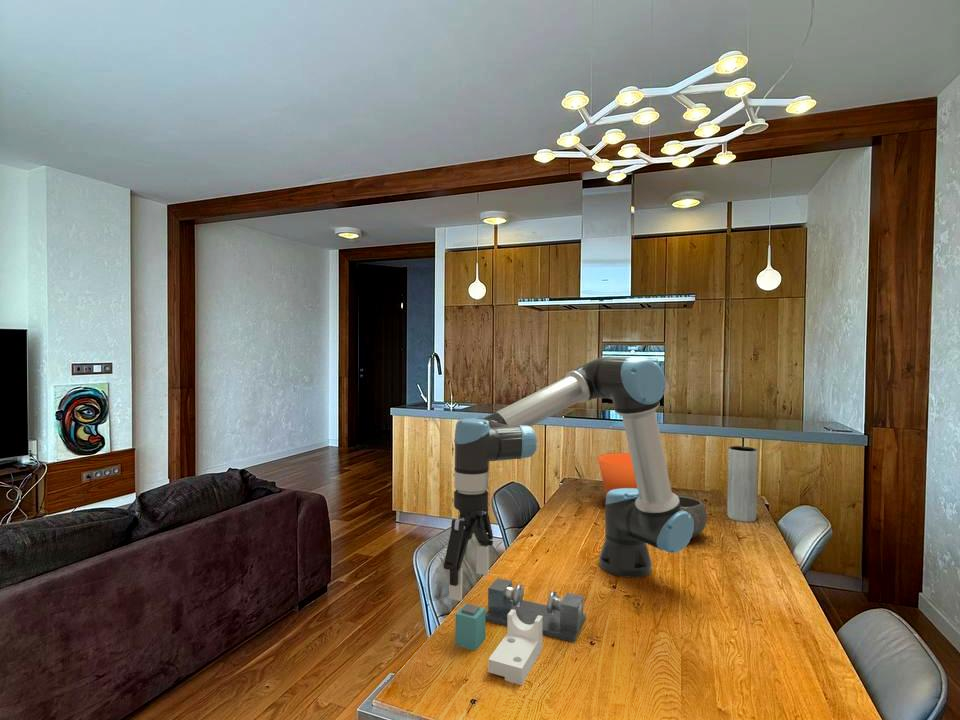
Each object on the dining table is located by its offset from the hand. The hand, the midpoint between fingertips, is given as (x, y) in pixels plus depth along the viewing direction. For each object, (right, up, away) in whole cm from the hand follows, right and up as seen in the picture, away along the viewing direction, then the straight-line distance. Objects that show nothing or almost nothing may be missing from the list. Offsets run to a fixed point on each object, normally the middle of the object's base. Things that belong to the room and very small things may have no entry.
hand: (469, 585), depth 113 cm
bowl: (+72, -12, +66) cm, 98 cm away
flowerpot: (+64, -11, +99) cm, 118 cm away
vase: (+104, -12, +85) cm, 135 cm away
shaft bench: (+15, -13, +10) cm, 22 cm away
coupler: (0, -13, 0) cm, 13 cm away
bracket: (+10, -13, -7) cm, 18 cm away
